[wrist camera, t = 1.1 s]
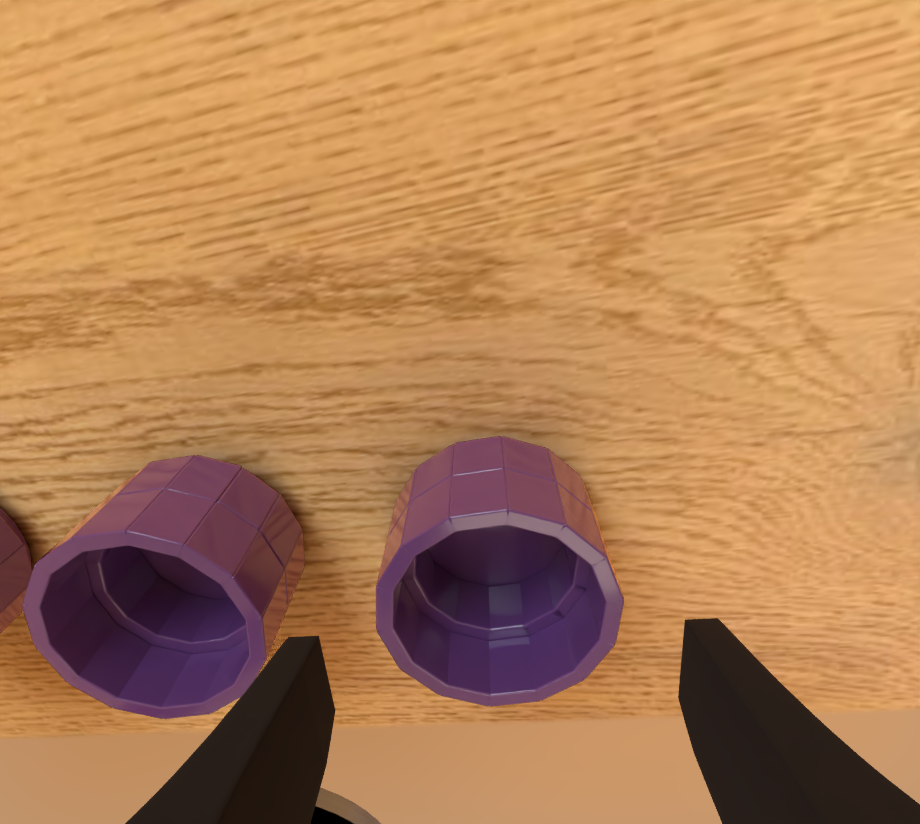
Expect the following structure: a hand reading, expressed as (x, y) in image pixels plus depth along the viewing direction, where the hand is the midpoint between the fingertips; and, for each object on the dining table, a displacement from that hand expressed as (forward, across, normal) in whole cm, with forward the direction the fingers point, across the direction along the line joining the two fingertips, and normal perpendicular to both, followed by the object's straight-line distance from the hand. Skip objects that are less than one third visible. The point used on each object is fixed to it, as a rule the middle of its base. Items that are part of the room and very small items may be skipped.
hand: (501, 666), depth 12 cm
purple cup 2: (+5, 0, 0) cm, 5 cm away
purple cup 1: (+5, +8, 0) cm, 10 cm away
